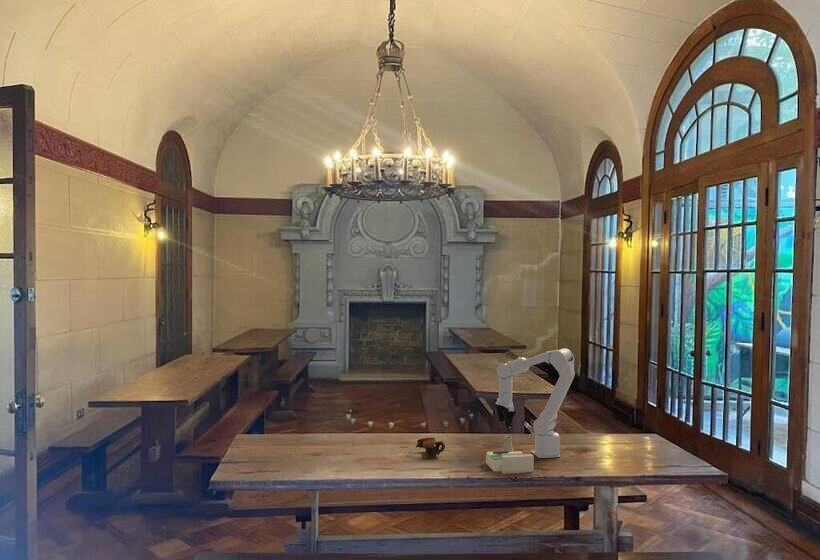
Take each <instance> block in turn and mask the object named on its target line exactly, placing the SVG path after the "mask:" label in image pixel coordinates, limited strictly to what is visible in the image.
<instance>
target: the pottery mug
mask: <svg viewBox="0 0 820 560" xmlns="http://www.w3.org/2000/svg"><path fill="white" fill-rule="evenodd" d="M416 442H417V443H416V446H415V449H417V448H420V449H425V451H424V452H422V453H421V458H422V460H425V459H437V456H439V455H440V454H441V453H443V452H444V450H445V448H446V446H445V445H446V444H445V443H444V442H443V441H436V438H434V437H424V438H420V439H417V441H416ZM440 446H441V448H440Z"/></svg>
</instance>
